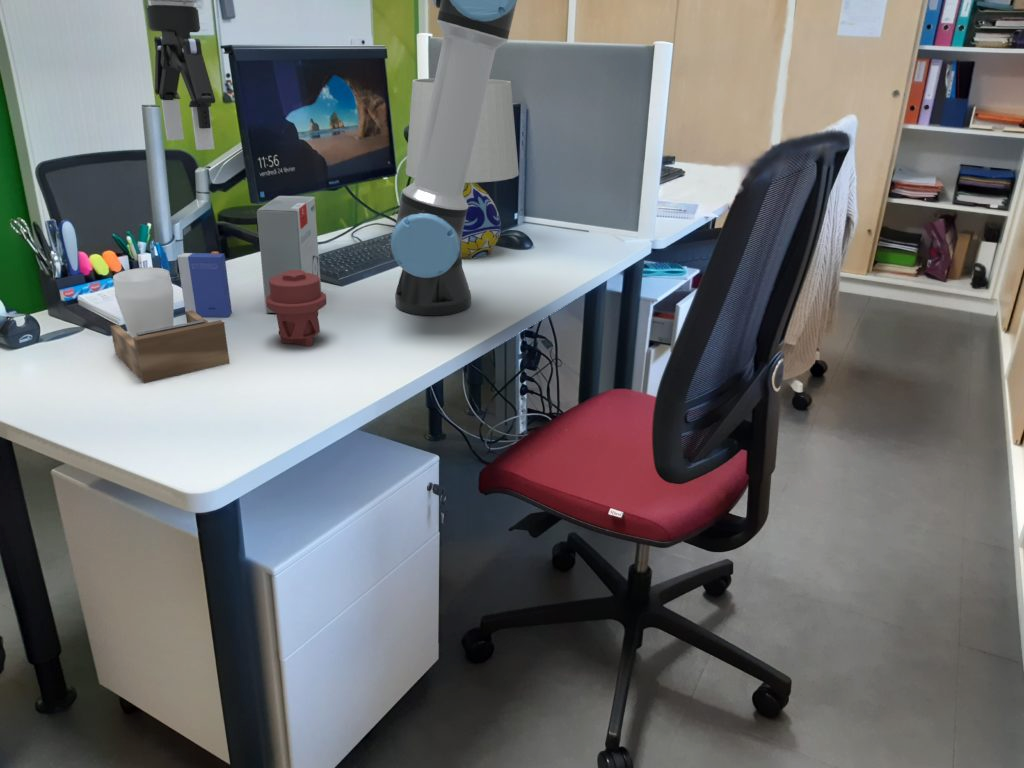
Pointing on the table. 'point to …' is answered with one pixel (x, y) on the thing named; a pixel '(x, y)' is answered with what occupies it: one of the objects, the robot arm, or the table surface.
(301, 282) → the mechanical component
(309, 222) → the hard drive box
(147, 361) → the dock
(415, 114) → the table lamp
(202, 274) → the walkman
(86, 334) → the table surface
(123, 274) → the cup
